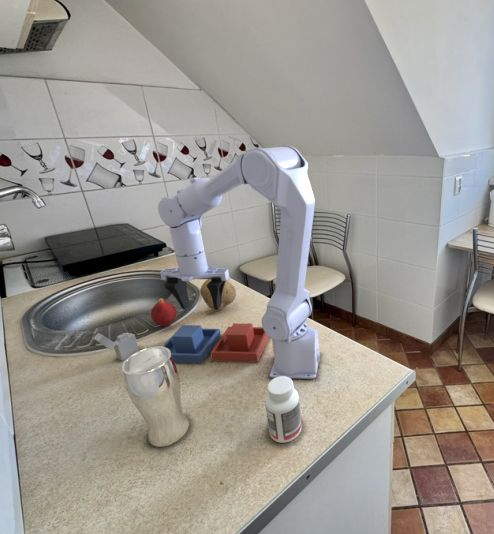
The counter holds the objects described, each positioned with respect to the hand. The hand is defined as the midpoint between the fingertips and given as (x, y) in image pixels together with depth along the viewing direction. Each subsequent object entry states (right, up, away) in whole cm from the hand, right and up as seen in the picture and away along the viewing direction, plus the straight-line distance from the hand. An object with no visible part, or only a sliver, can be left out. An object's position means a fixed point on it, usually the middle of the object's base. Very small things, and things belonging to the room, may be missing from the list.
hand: (201, 307), depth 74 cm
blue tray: (-3, -10, +1) cm, 10 cm away
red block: (+9, -9, +1) cm, 13 cm away
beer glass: (+3, -19, -20) cm, 27 cm away
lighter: (-17, -11, -2) cm, 21 cm away
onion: (-13, -6, +10) cm, 18 cm away
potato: (-2, -3, +18) cm, 18 cm away
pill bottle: (+23, -18, -20) cm, 35 cm away
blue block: (-3, -9, +1) cm, 10 cm away
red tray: (+9, -10, +1) cm, 13 cm away
